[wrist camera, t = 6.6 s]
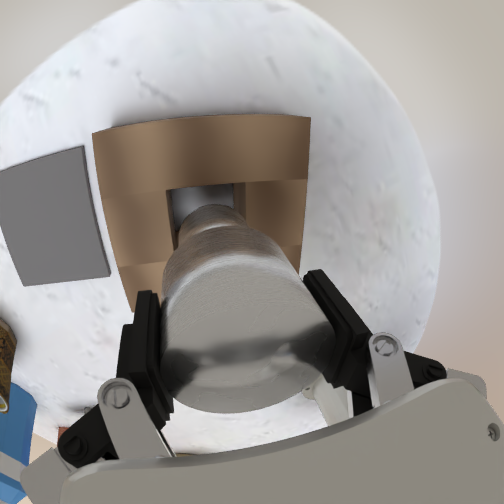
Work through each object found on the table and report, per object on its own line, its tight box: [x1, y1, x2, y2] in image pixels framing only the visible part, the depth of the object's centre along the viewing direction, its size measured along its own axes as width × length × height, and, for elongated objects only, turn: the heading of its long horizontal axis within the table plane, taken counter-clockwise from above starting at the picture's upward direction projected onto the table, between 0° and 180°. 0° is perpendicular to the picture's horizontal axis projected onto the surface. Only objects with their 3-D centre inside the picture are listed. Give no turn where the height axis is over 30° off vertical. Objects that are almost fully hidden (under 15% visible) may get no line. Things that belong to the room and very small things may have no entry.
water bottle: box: [0, 383, 37, 504], centre depth 18 cm, size 9×9×25 cm
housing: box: [92, 114, 311, 312], centre depth 20 cm, size 14×14×5 cm
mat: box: [0, 146, 111, 286], centre depth 19 cm, size 11×12×1 cm
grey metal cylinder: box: [160, 204, 336, 413], centre depth 13 cm, size 6×6×10 cm
